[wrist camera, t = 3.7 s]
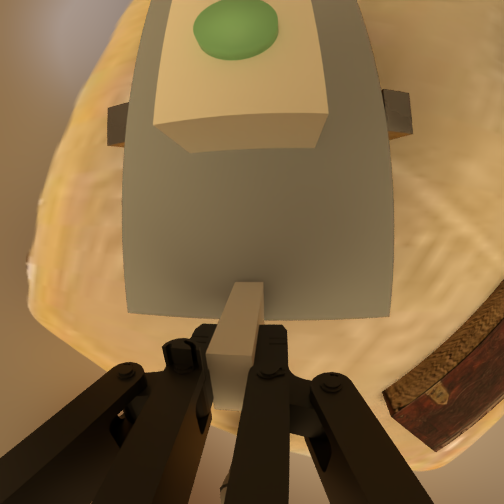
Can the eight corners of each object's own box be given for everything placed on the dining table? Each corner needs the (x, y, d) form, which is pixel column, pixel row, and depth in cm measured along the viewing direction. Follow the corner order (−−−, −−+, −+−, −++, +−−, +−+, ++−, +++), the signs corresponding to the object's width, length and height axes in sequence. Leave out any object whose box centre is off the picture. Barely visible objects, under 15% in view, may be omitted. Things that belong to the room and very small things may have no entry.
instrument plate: (161, 5, 17) (125, -49, 8) (345, -7, 15) (360, -70, 7) (141, 303, 19) (68, 343, 11) (380, 306, 17) (438, 356, 9)
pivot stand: (145, 106, 23) (105, 91, 16) (379, 97, 21) (409, 75, 14) (154, 261, 27) (119, 287, 20) (379, 260, 25) (407, 289, 18)
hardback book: (428, 433, 32) (437, 454, 27) (381, 389, 30) (390, 416, 25) (547, 318, 24) (563, 331, 20) (530, 237, 22) (554, 247, 17)
